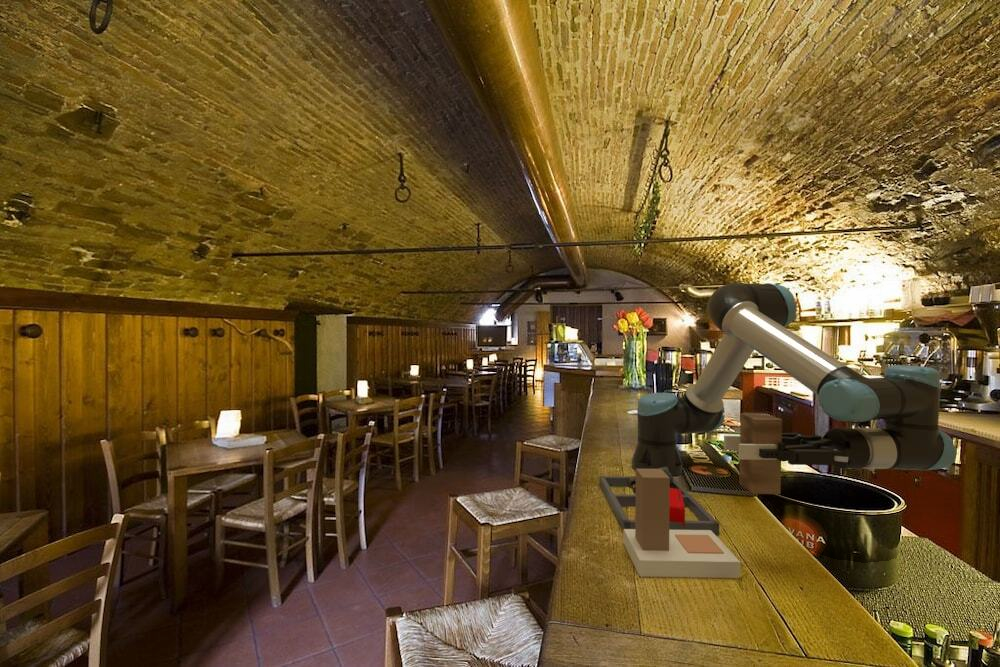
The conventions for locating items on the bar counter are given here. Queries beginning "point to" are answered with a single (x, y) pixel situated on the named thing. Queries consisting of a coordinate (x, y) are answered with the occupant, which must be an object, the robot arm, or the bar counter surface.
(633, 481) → the chocolate cake
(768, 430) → the walnut pillar
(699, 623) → the bar counter surface
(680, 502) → the french fries container
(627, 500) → the charcoal tray rim
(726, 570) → the base board
